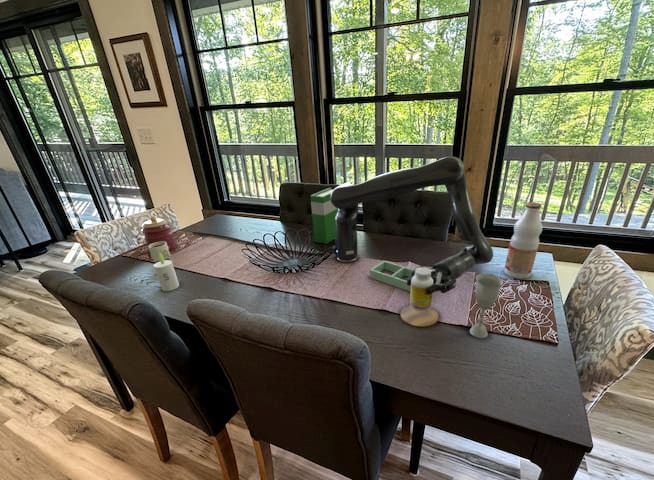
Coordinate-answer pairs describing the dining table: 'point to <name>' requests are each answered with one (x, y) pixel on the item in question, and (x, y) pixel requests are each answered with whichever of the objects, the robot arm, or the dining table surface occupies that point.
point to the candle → (166, 274)
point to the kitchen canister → (158, 232)
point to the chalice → (485, 299)
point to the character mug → (157, 248)
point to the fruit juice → (524, 243)
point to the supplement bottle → (421, 289)
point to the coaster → (419, 317)
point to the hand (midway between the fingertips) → (417, 287)
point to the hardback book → (323, 216)
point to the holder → (392, 279)
